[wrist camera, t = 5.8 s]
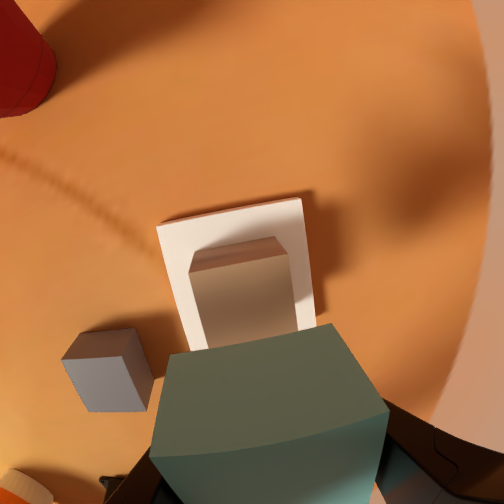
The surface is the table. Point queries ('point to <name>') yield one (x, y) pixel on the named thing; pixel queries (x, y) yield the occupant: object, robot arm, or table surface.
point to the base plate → (230, 232)
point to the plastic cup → (22, 62)
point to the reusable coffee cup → (22, 489)
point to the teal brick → (270, 423)
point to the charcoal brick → (110, 371)
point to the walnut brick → (243, 292)
